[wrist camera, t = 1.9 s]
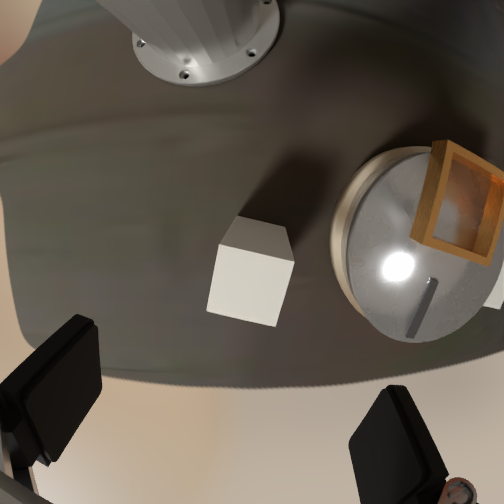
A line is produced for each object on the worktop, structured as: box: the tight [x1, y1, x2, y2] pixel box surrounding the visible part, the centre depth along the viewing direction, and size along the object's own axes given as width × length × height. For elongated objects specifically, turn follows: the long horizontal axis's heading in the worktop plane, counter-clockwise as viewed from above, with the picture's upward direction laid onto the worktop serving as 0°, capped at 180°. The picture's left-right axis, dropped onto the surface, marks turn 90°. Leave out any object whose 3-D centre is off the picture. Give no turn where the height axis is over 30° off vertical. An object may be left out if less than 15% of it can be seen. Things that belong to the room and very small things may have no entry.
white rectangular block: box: [206, 216, 294, 327], centre depth 20 cm, size 4×4×9 cm
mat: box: [483, 261, 504, 309], centre depth 24 cm, size 9×6×1 cm, turn 167°
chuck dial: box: [341, 140, 504, 343], centre depth 19 cm, size 15×15×5 cm
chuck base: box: [329, 146, 431, 317], centre depth 23 cm, size 16×16×2 cm
